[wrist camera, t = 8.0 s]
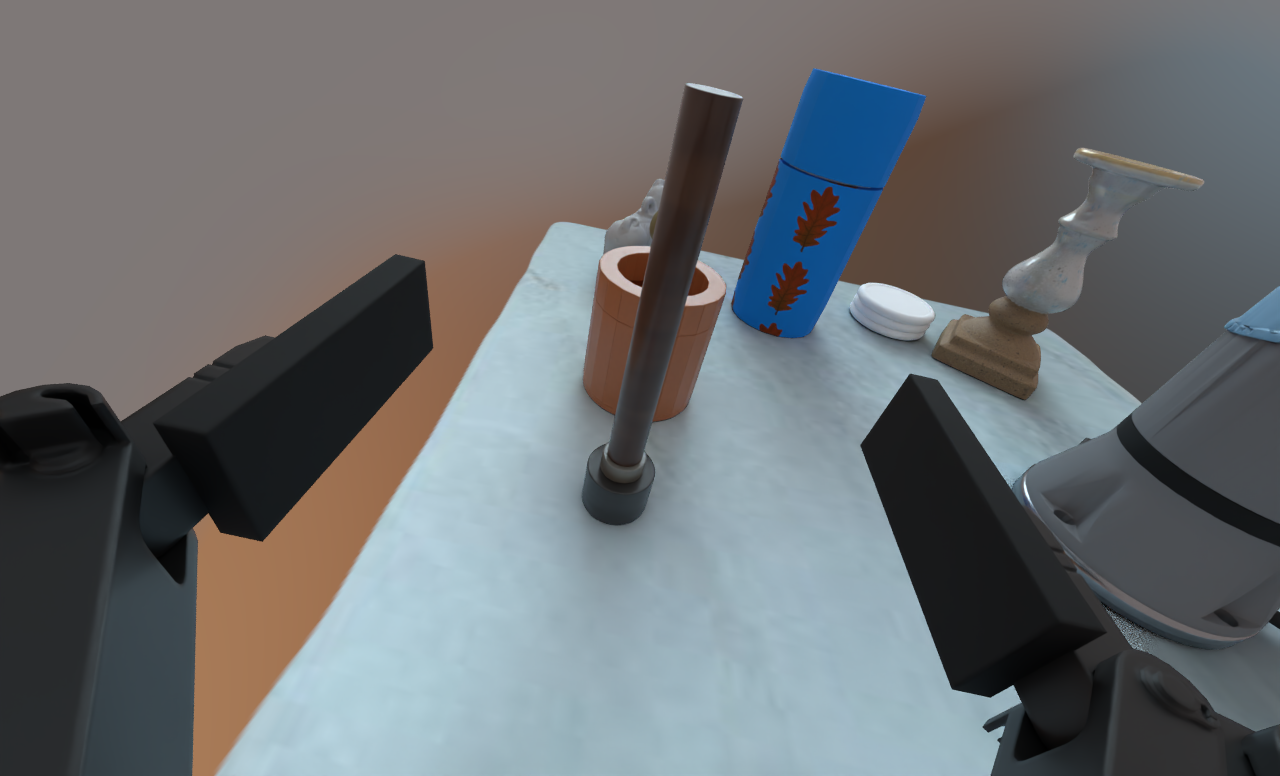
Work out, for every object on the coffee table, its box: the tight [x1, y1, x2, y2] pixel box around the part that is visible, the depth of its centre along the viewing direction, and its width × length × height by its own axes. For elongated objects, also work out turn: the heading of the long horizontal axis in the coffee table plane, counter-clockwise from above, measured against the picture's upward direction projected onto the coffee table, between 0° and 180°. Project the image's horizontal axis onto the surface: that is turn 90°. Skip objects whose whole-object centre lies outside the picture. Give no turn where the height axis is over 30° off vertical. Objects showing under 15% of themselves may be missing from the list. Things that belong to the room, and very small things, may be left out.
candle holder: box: [932, 148, 1204, 400], centre depth 52 cm, size 11×11×24 cm
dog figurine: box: [603, 179, 665, 255], centre depth 59 cm, size 5×13×11 cm, turn 148°
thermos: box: [732, 69, 926, 338], centre depth 51 cm, size 11×11×25 cm
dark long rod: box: [582, 83, 743, 525], centre depth 24 cm, size 4×4×24 cm
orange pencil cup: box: [583, 246, 726, 422], centre depth 39 cm, size 10×10×11 cm
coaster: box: [850, 283, 935, 341], centre depth 62 cm, size 10×10×4 cm
